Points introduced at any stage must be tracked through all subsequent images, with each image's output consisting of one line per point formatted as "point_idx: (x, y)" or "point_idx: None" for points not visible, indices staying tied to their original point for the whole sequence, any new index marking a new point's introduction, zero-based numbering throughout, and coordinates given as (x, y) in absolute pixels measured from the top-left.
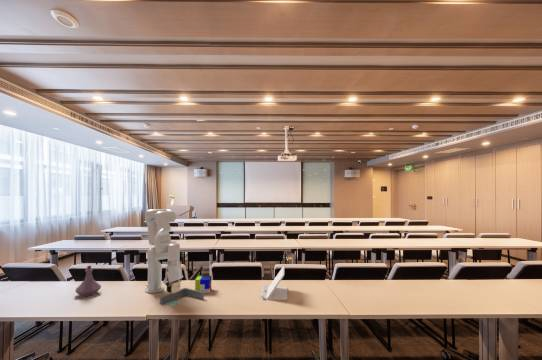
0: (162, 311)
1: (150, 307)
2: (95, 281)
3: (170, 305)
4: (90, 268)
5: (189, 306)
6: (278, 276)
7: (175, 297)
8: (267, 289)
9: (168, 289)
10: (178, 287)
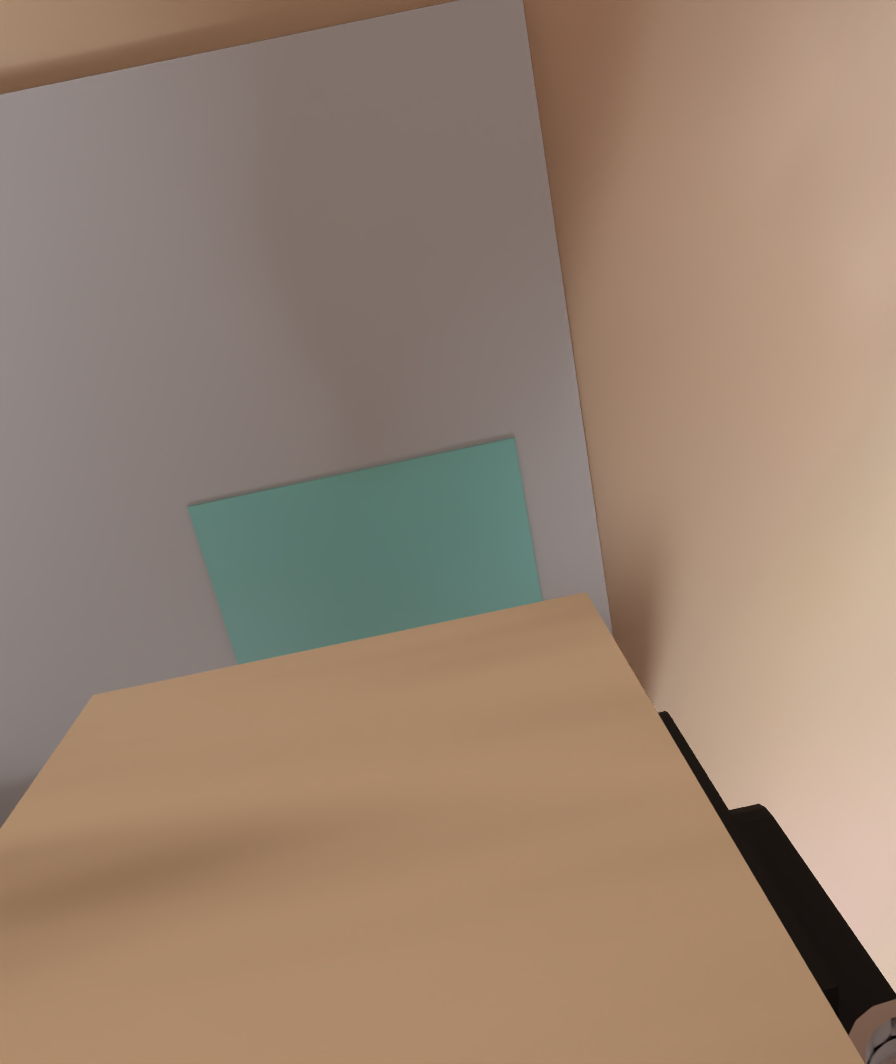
0: (850, 337)
1: (857, 782)
2: None
3: (524, 513)
4: None
5: (88, 40)
6: None
7: None
8: None
9: (806, 880)
10: (149, 810)
